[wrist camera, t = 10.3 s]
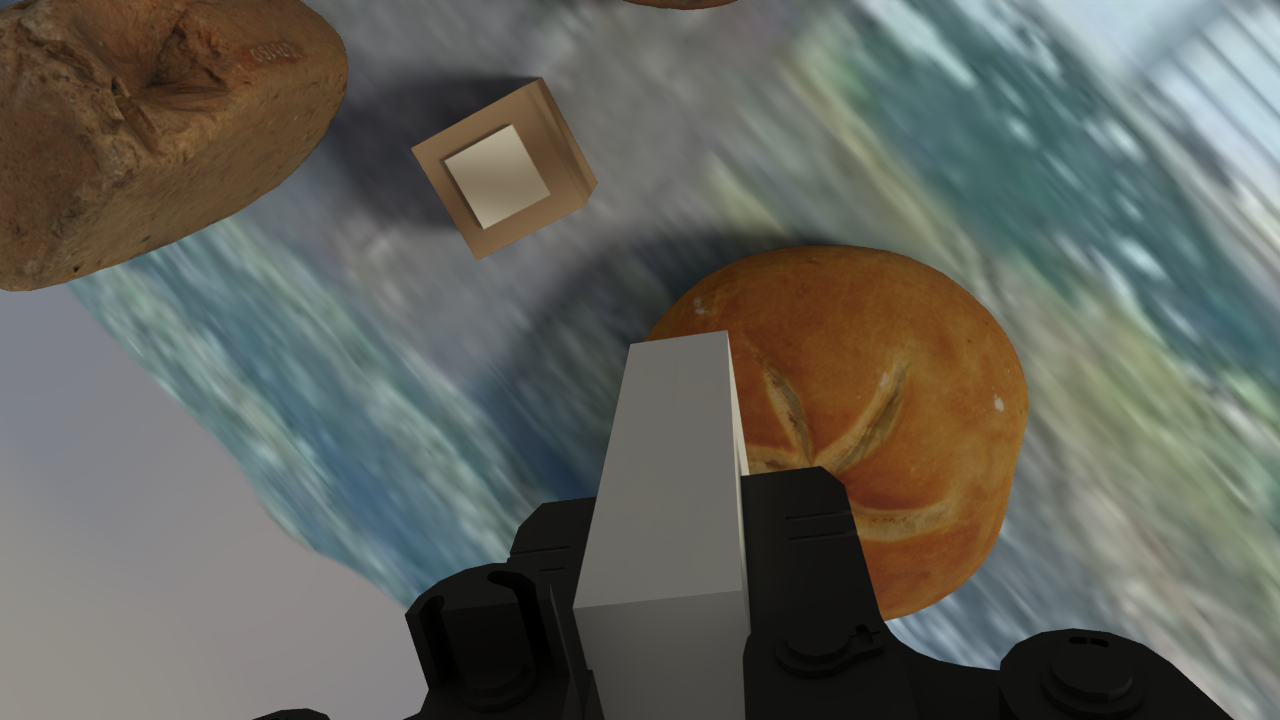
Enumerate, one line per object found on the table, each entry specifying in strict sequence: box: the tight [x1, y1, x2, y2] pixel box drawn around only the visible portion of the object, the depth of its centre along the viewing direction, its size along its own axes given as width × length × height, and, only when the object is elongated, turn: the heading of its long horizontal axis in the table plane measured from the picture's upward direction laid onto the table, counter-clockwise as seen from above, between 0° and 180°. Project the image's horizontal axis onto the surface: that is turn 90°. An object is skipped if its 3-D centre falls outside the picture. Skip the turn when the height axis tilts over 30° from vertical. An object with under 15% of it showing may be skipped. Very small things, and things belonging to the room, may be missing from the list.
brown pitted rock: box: [0, 0, 348, 291], centre depth 39 cm, size 11×8×20 cm
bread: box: [644, 245, 1029, 621], centre depth 49 cm, size 23×23×10 cm
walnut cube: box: [411, 78, 598, 260], centre depth 46 cm, size 6×6×6 cm
